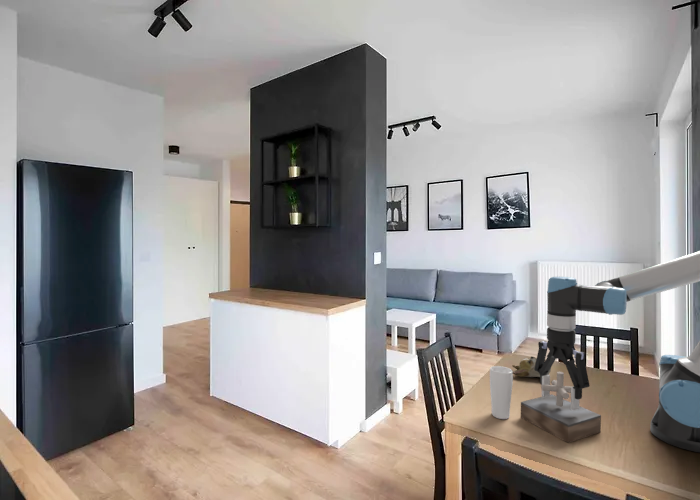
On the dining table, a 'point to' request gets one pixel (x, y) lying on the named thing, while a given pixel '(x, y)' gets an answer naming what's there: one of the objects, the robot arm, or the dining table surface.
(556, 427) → the block
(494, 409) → the drinking glass
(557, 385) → the pipe connector
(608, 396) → the dining table surface
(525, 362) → the ceramic sculpture
